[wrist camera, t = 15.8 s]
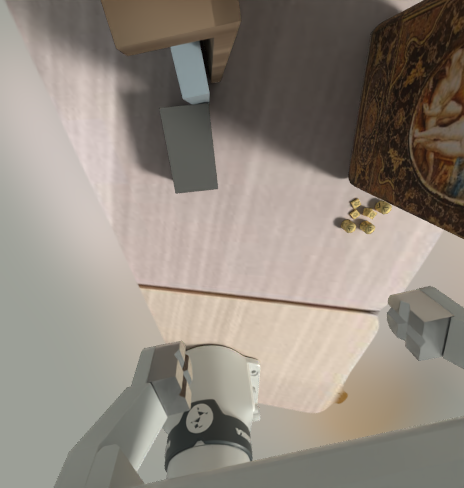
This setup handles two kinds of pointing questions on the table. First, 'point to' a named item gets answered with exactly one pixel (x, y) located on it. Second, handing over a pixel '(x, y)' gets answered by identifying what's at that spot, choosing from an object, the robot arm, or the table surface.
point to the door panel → (191, 72)
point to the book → (415, 114)
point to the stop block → (190, 147)
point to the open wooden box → (175, 27)
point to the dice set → (365, 225)
